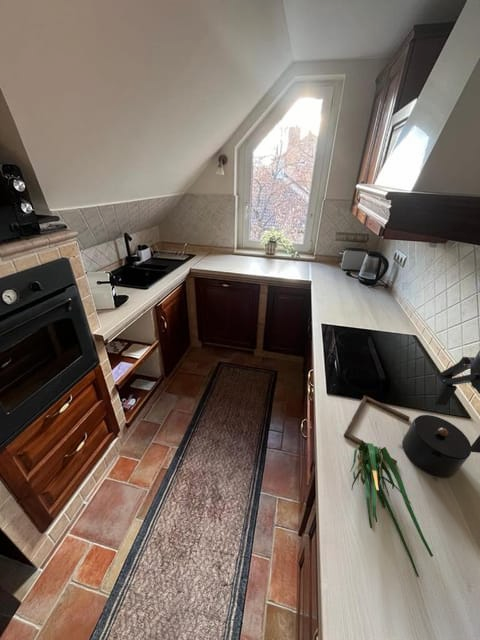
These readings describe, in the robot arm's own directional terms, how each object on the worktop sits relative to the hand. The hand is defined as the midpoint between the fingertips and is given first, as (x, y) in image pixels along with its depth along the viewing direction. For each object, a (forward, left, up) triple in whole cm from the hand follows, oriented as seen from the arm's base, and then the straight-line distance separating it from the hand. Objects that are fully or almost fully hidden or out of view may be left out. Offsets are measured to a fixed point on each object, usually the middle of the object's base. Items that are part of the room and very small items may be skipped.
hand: (456, 425), depth 63 cm
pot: (-3, -6, -20) cm, 21 cm away
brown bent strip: (+11, -12, -20) cm, 25 cm away
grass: (+16, +13, -20) cm, 29 cm away
